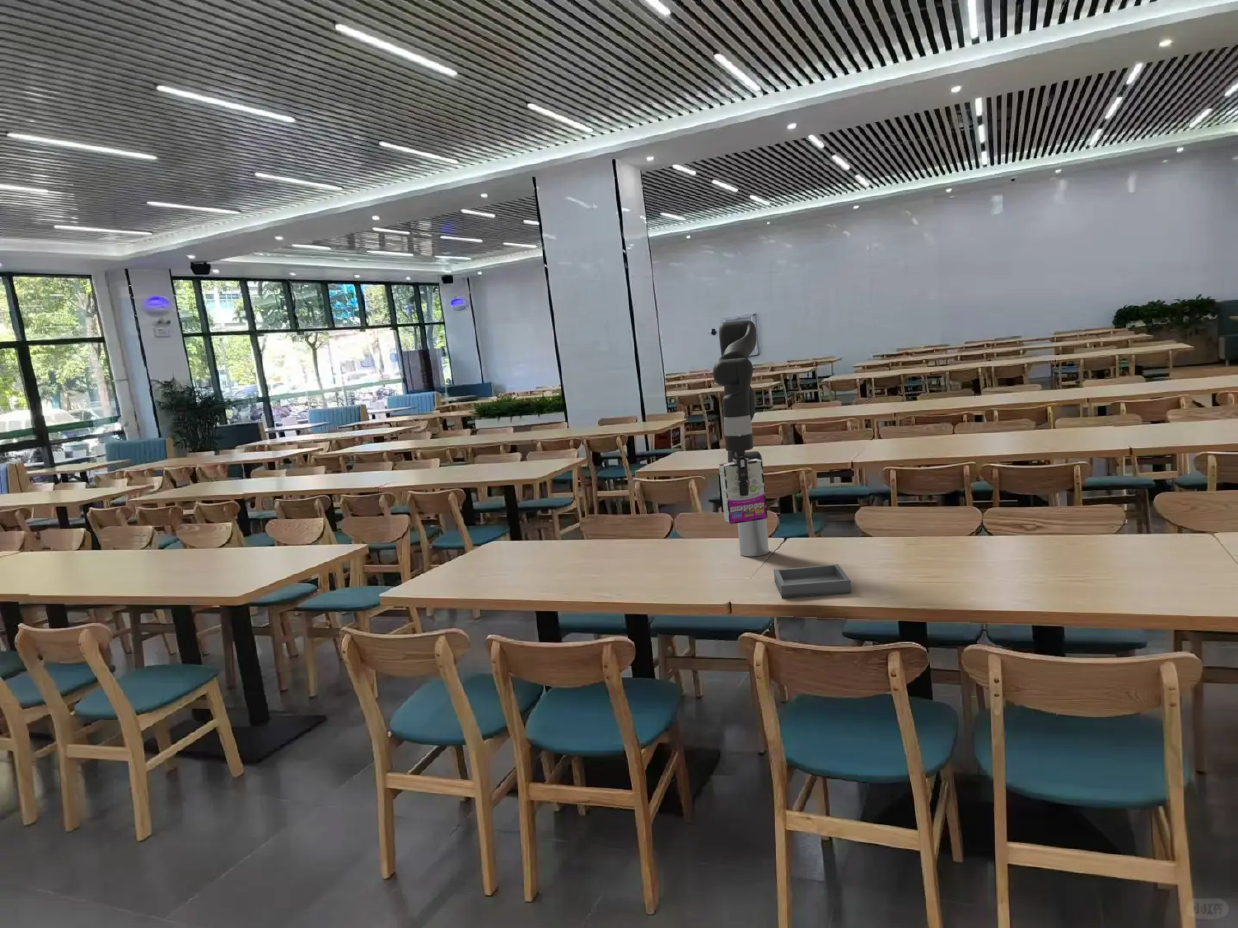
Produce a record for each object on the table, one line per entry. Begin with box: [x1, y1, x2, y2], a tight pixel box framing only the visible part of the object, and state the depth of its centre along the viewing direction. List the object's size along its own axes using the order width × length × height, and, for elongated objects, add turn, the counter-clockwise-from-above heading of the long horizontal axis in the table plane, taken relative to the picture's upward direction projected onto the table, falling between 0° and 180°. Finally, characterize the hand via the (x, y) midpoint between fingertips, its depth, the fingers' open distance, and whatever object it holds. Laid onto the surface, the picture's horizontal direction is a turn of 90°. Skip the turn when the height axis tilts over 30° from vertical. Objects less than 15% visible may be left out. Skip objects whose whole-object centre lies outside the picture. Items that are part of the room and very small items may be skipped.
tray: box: [773, 563, 852, 599], centre depth 217 cm, size 16×18×4 cm
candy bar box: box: [718, 459, 768, 525], centre depth 218 cm, size 11×5×16 cm, turn 101°
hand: (743, 493), depth 218 cm, fingers closed on candy bar box, 5 cm apart
